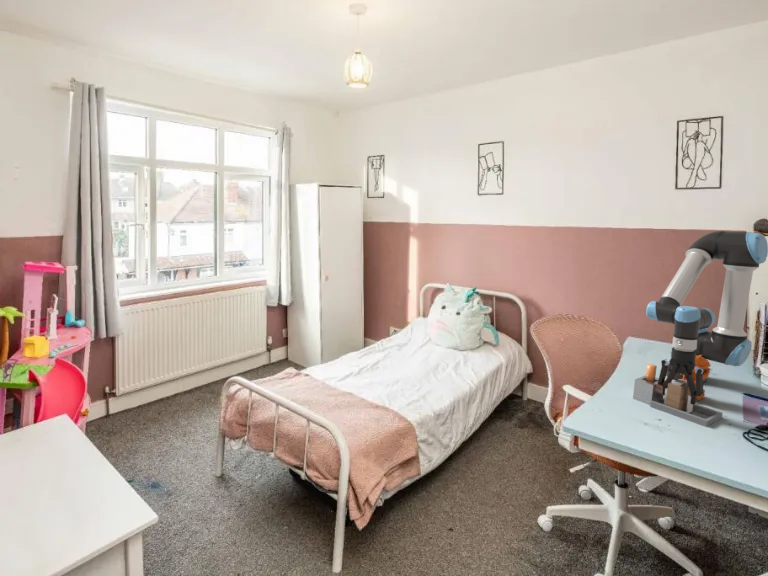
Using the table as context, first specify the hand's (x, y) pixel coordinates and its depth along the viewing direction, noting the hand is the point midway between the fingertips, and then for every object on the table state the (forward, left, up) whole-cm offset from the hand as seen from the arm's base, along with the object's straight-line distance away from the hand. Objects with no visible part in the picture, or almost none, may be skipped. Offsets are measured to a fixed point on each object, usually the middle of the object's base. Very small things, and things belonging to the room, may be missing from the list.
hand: (677, 407), depth 173 cm
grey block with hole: (0, -11, -1) cm, 11 cm away
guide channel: (0, +2, -1) cm, 2 cm away
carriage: (0, 0, -1) cm, 1 cm away
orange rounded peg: (0, -11, +7) cm, 13 cm away
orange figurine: (-16, -2, -1) cm, 16 cm away
